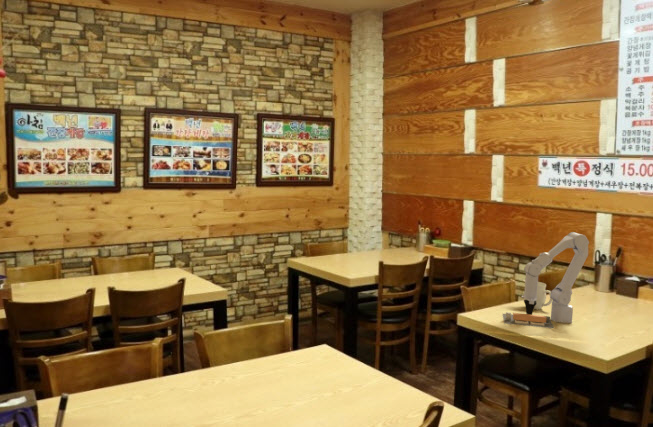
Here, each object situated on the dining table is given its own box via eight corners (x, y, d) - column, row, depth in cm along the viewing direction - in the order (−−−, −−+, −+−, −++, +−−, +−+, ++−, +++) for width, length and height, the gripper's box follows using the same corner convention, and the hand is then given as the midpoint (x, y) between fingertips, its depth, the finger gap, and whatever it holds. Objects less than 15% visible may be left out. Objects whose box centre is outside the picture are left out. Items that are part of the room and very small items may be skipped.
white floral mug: (544, 313, 289) (546, 287, 288) (514, 305, 304) (516, 280, 303) (557, 311, 296) (559, 285, 294) (527, 303, 310) (529, 278, 309)
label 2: (542, 322, 270) (542, 320, 270) (544, 325, 264) (544, 324, 264) (529, 320, 271) (529, 319, 271) (530, 324, 266) (530, 322, 266)
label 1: (527, 320, 272) (527, 319, 272) (528, 324, 266) (528, 322, 266) (514, 319, 273) (514, 317, 273) (514, 322, 267) (515, 321, 267)
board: (549, 320, 278) (549, 310, 277) (554, 330, 260) (554, 320, 260) (502, 315, 283) (502, 306, 283) (504, 325, 266) (504, 315, 265)
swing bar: (513, 319, 269) (513, 314, 269) (512, 318, 272) (513, 312, 271) (550, 323, 265) (550, 317, 265) (549, 321, 268) (549, 316, 267)
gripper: (521, 283, 281) (519, 310, 282) (523, 290, 267) (521, 318, 268) (536, 285, 279) (534, 312, 281) (539, 291, 265) (537, 320, 267)
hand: (529, 315), depth 274 cm, fingers closed
